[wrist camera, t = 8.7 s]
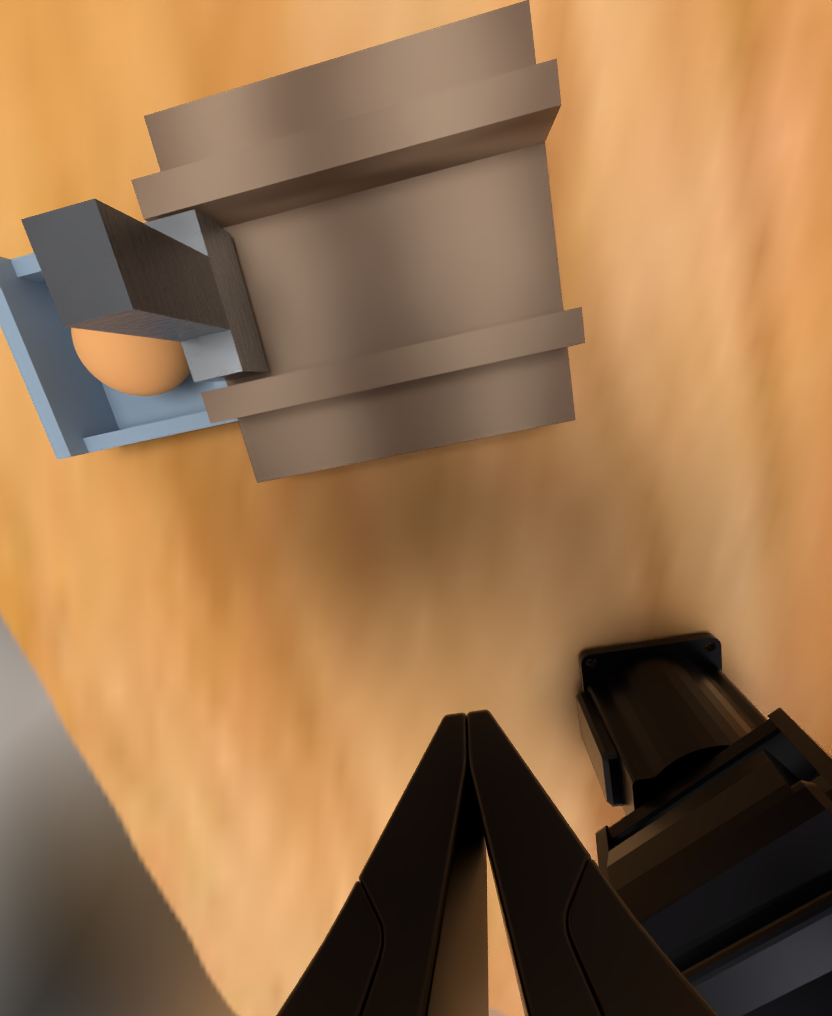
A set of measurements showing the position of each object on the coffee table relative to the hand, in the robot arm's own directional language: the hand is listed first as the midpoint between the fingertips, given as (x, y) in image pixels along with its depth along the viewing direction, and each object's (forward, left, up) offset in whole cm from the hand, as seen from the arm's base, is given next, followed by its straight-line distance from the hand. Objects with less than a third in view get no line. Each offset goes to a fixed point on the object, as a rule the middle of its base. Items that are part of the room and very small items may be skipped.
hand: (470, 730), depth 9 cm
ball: (+10, -10, -11) cm, 18 cm away
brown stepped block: (+1, -10, -13) cm, 16 cm away
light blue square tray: (+11, -10, -13) cm, 20 cm away
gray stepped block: (+6, -10, -9) cm, 15 cm away
